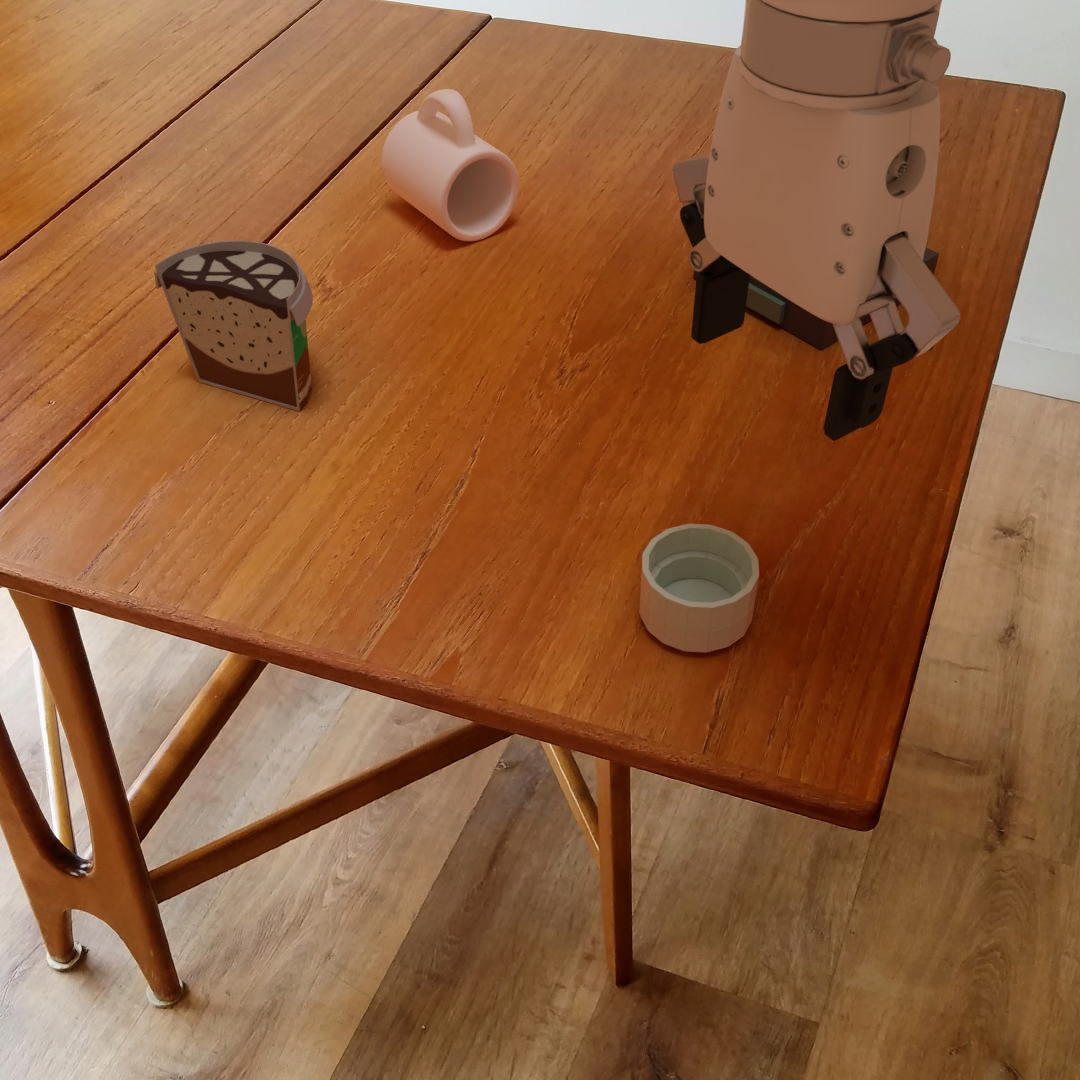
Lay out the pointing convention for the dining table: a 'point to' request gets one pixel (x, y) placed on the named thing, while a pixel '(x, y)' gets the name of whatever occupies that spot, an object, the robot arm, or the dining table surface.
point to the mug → (450, 169)
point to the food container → (242, 318)
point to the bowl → (698, 587)
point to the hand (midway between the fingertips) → (780, 378)
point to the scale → (803, 310)
